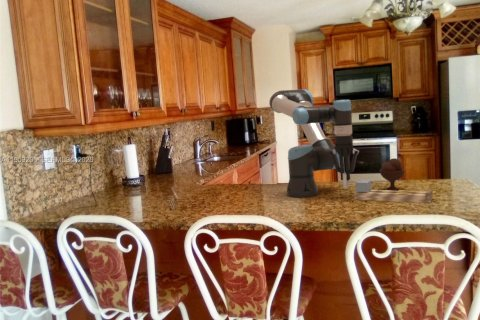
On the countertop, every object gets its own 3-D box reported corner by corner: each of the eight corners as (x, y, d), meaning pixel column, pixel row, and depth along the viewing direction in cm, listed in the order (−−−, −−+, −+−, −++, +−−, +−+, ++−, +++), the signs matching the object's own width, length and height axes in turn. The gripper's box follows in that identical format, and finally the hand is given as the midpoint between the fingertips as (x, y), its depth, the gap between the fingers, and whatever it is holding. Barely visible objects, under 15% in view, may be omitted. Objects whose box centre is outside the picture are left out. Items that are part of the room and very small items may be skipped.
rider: (356, 196, 178) (355, 182, 178) (360, 193, 184) (359, 179, 184) (367, 196, 176) (367, 182, 175) (371, 193, 182) (371, 180, 181)
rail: (354, 199, 178) (354, 190, 178) (359, 195, 185) (359, 187, 185) (430, 203, 163) (429, 193, 162) (432, 198, 169) (432, 189, 169)
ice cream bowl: (400, 187, 198) (399, 156, 196) (407, 191, 187) (407, 159, 185) (378, 188, 199) (377, 157, 197) (383, 192, 188) (382, 160, 186)
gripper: (326, 136, 182) (329, 188, 184) (355, 135, 175) (358, 189, 177) (332, 134, 188) (334, 185, 190) (360, 133, 181) (362, 186, 184)
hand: (345, 187), depth 184 cm, fingers closed
